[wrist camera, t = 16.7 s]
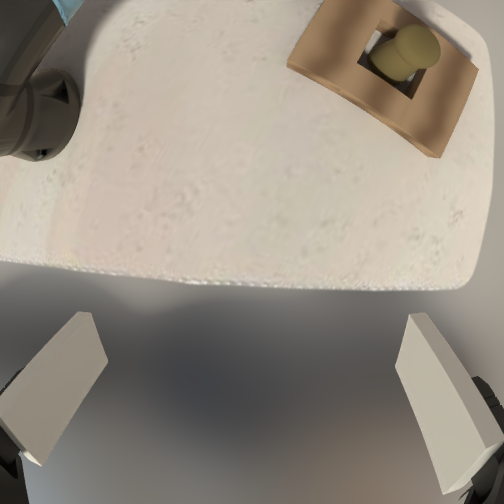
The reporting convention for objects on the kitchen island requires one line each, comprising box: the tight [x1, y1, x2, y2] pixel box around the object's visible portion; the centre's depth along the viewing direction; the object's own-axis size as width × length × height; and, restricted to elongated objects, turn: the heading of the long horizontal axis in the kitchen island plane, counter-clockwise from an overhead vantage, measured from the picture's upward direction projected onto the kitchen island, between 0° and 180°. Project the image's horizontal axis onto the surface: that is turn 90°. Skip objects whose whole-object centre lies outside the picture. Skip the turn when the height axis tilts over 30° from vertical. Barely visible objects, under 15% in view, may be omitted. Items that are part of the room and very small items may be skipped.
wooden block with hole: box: [287, 0, 479, 158], centre depth 28 cm, size 22×16×4 cm
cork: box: [368, 24, 441, 85], centre depth 25 cm, size 6×6×11 cm
